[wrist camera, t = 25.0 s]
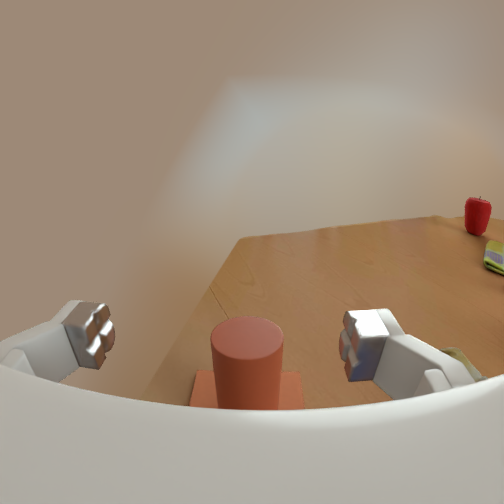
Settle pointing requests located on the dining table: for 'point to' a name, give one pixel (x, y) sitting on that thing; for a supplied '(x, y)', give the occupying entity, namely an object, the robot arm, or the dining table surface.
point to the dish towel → (494, 256)
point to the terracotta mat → (207, 395)
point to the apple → (477, 215)
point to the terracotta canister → (247, 363)
